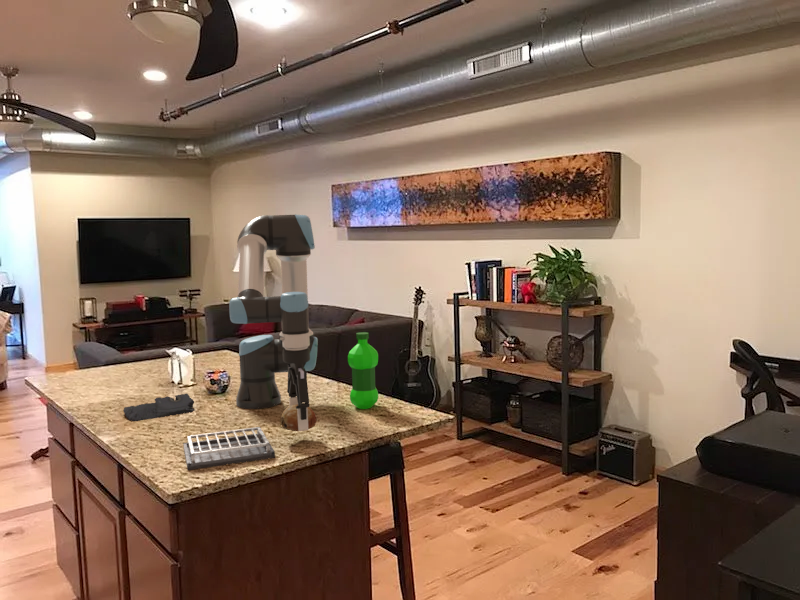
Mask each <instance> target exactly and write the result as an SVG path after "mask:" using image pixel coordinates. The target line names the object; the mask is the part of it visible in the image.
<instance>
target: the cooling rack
mask: <svg viewBox="0 0 800 600" xmlns="http://www.w3.org/2000/svg"><path fill="white" fill-rule="evenodd" d="M255 431H256V432H255ZM246 432H252V433H251V434H246ZM237 433H243V435H237ZM228 434H233V435H234V436H228ZM221 435H224V437H221V438H219V437H218V436H221ZM213 436H214V437H215V438H213V439H209V437H213ZM186 438H187V442H183V445H182V446H183V451H184V452H183V453H184V458H185V464H186V468H187V471H191V470H199V469H198V468H200V469H205V468H212V467H213V466H214V467H218V466H219V467H220V466H227V465H226V464H228V465H233V464H232V463H235V464H241V463H240V462H242V463H246V461H247V463H248V461H249V462H254V461H255V460H256V461H262V460H261V459H263V460H269V459H268V458H270V459H275V458H276V452H275V450H274V448H273V447H272V444H270V442H269V439H267V438H268V437H266V435H265V433H264V432H263V430H262V428H261V427H260V426H256V427H248V428H240V429H231V430H225V431H224V430H223V431H217V432H209V433H201V434H191V435H187V437H186ZM199 438H206V439H205V440H199ZM192 439H196V441H192ZM214 467H213V468H214Z"/></svg>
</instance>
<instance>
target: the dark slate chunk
mask: <svg viewBox="0 0 800 600" xmlns="http://www.w3.org/2000/svg"><path fill="white" fill-rule="evenodd" d="M194 404H195V401H194V400H193V398H191V396H190V395H189V393H182V394H177V395H174V397H171V396H164V397H160V396H158V397H156V398H154V402H150V403H148V402H147V403H141V404H137V405H129V406H125V407H123V414H124V415H125V417H126V418H127V419H128V421H131V422H139V421H141V422H142V421H145V420H151V419H152V420H153V419H160V418H165V416H166V417H171V416H170V415H172V416H177V415H176V414H178V415H182V414H183V413H184V414H189V412H190V413H193V412H194V411H196V410H195V409H194Z"/></svg>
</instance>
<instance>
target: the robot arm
mask: <svg viewBox="0 0 800 600" xmlns="http://www.w3.org/2000/svg"><path fill="white" fill-rule="evenodd" d="M237 237H238V238H237V241H236V243H237V245H236V247H237V251H238V253H239V261H238V262H239V263H238V265H239V266H238V282H237V283H238V284H237V285H238V286H237V297H232V298H230V299H229V303H228V304H229V305H228V306H229V309H228V310H229V311H228V312H229V320H230V322H231V323H233V324H243V325H247V324H264V323H281V331H280V332H279V334H278V335H279V336H278V337H279V338H274V336H273V335H272V334H262V335H256V336H252V337H248V338H244V339H243V340H241V342H239V344H238V345H239V347H238V350H239V351H238V352H239V353H238V356H239V373H240V374H239V376H240V377H239V378H240V385H239V388H238V390H237V395H236V400H235V401H236V402H235V404H236V406H237V407H239V408H241V409H249V410H250V409H251V410H255V409H256V410H257V409H266V408H267V409H268V408H272V407H274V406H275V407H276V406H277V405H279V404H281V402H282V397H281V392H280V390H279V388H278V386H277V382H276V379H275V378H276V376H275V375H276V374H278V373H279V374H280V373H287V389H286V391H287V394H288V397H289V398H288V399H289V400H288V401H289V406H291V405H296V404H298V406H296V409H297V413H298V431H297V432H303V431H309V429H308V407H311V406H310V398H309V388H308V379H307V378H308V376H307V375H308V372H310V371H313V370H314V369H315V367H316V363H317V359H318V358H317V357H318V345H319V344H318V343H319V342H318V341H319V339H318V337H316V336H314V331H312V330H311V329H310V326H309V321H310V319H309V304H310V303H309V301H308V300H309V299H308V298H309V297H308V271H307V270H308V269H307V268H308V267H307V265H308V264H307V259H308V258H309V257H310V256H311V255H312V253H311V250H312V251H313V250H314V249H315V246H316V245H315V240H314V233H313V228H312V222H311V218H310V216H308V215H306V214H296V213H295V214H277V215H276V214H275V215H274V214H273V215H270V214H269V215H268V214H264V215H260V216H256V217H254V218H253V219H252V220H250V221H248V223H246V224H245V226H244V227H243V228H242V229H241V231H240V233H239V235H238V236H237ZM267 251H275V257H277V258H278V259H279V260H280V271H281V273H280V274H281V295H280V296H279V295H278V296H277V295H275V296H265V295H264V294H265V293H264V291H265V290H264V287H265V285H264V284H265V282H264V281H265V277H264V275H265V254H266V253H267Z"/></svg>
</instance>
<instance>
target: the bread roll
mask: <svg viewBox="0 0 800 600" xmlns="http://www.w3.org/2000/svg"><path fill="white" fill-rule="evenodd" d="M296 406H298V404H296V405H291V406H290V405H289V406H287V407H286V408H285V409H284V410H283V412H282V413H281V417H280V425H281V429H284V430H287V431H292V432H299V431H298V413H297V409H296ZM317 420H318V419H317V416H316V413H315V411H314V410H313V409H312V408H311V406H309V407H308V430H309V429H312V428H314V427H315V425H316V424H317Z"/></svg>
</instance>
